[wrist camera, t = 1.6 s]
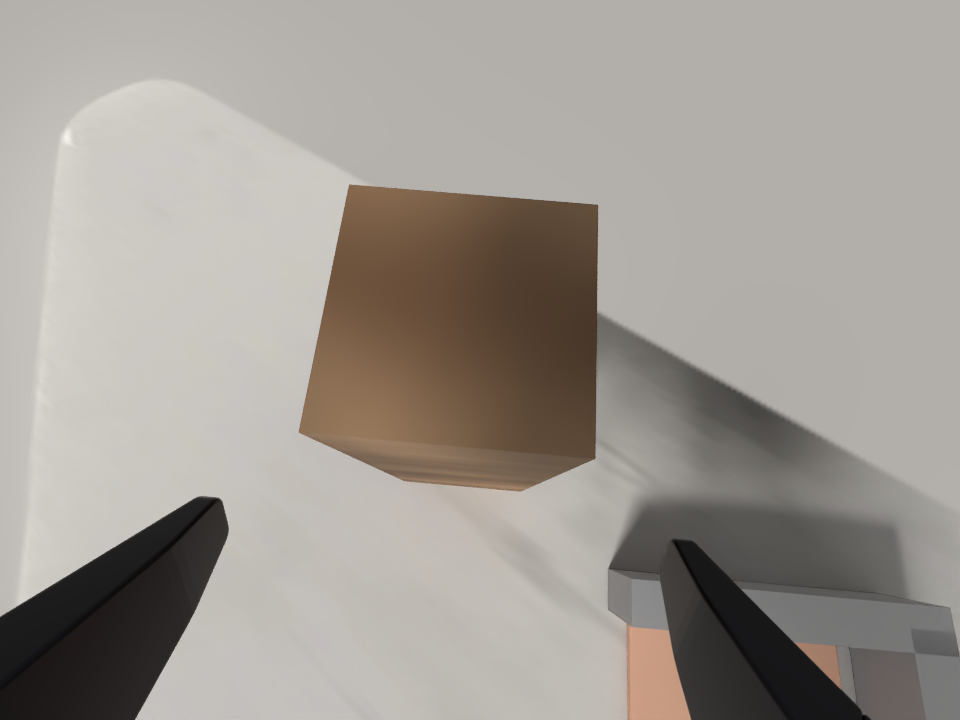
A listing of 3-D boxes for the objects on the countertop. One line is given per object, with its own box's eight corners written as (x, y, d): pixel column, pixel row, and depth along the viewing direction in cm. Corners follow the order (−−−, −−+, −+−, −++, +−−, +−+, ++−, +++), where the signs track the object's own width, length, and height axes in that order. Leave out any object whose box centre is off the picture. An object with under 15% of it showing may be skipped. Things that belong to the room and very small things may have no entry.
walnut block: (520, 491, 20) (595, 458, 8) (404, 480, 20) (298, 431, 8) (526, 379, 22) (597, 205, 9) (418, 369, 22) (349, 184, 10)
